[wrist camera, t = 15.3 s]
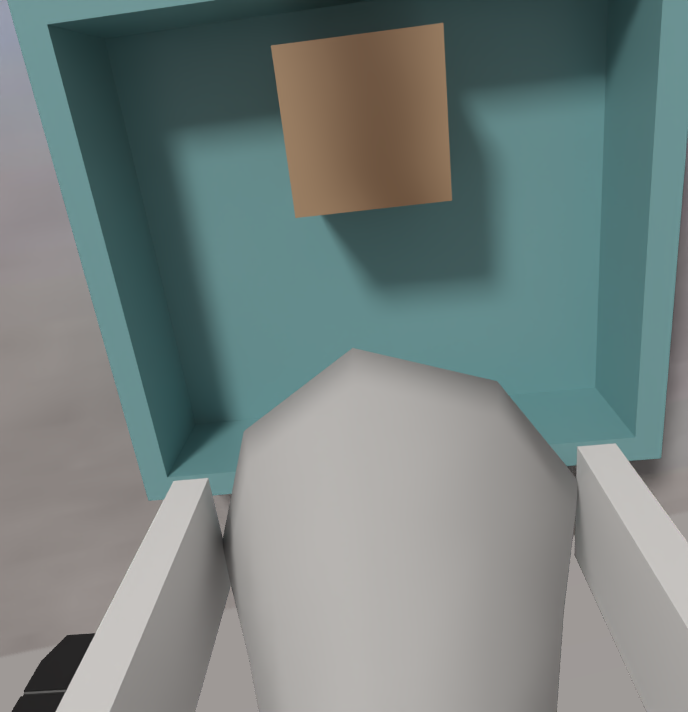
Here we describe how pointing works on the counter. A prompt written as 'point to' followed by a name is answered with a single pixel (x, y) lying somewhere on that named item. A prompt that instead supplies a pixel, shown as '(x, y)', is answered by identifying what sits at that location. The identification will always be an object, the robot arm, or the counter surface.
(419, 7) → the tote
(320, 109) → the walnut cube
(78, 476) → the counter surface
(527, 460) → the flask
